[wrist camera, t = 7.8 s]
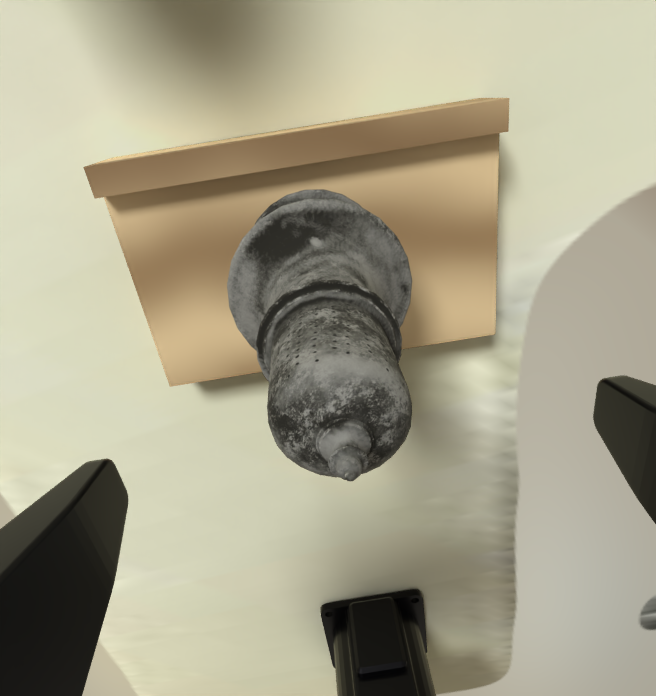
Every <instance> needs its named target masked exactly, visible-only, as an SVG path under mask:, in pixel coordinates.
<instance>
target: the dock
mask: <svg viewBox="0 0 656 696" xmlns="http://www.w3.org/2000/svg"><path fill="white" fill-rule="evenodd" d="M508 124H509V98H478V99H472V100H465V101H459V102H453V103H447V104H441V105H435V106H428V107H422V108H416V109H410V110H404V111H398V112H392V113H385V114H379V115H373V116H367V117H361V118H355V119H348V120H342V121H336V122H330V123H324V124H318V125H312V126H305V127H299V128H293V129H287V130H281V131H275V132H268V133H262V134H256V135H250V136H244V137H238V138H232V139H225V140H219V141H213V142H207V143H201V144H195V145H188V146H182V147H176V148H170V149H164V150H158V151H152V152H145V153H139V154H133V155H127V156H121V157H115V158H110V159H107V160H104V161H101V162H98V163H95V164H92V165H89V166H86V167H84V170H85V173H86V176H87V178H88V181H89V184H90V187H91V190H92V192H93V195H94V198H101V197H104V199H105V202H106V205H107V207H108V210H109V213H110V216H111V219H112V222H113V225H114V228H115V230H116V233H117V236H118V239H119V242H120V245H121V248H122V250H123V253H124V256H125V259H126V262H127V265H128V268H129V271H130V273H131V276H132V279H133V282H134V285H135V288H136V291H137V293H138V296H139V299H140V302H141V305H142V308H143V311H144V314H145V316H146V319H147V322H148V325H149V328H150V331H151V334H152V336H153V339H154V342H155V345H156V348H157V351H158V354H159V357H160V359H161V362H162V365H163V368H164V371H165V374H166V377H167V379H168V382H169V385H170V387H171V386H177V385H183V384H189V383H195V382H202V381H208V380H214V379H220V378H227V377H233V376H239V375H245V374H251V373H258V372H262V370H261V367H260V365H259V362H258V360H257V351H256V350H255V349H254V348H252V347H251V346H250V344H249V343H248V342H247V340H246V339H245V338H244V336H243V335H242V334H241V332H240V331H239V330H238V328H237V326H236V323H235V321H234V318H233V316H232V313H231V311H230V308H229V300H228V291H227V281H228V276H229V270H230V265H231V260H232V258H233V256H234V254H235V252H236V250H237V248H238V246H239V244H240V242H241V240H242V238H243V237H244V236H245V235H246V234H247V233H248V232H249V231H250V230H251V228H252V227H253V226H254V225H255V223H256V221H257V219H258V218H259V217H260V216H261V215H262V213H263V212H264V211H265V210H266V209H267V208H268V207H269V206H270V205H271V204H273V203H274V202H276V201H278V200H279V199H281V198H282V197H284V196H286V195H288V194H292V193H295V192H299V191H302V190H316V189H325V190H328V191H332V192H336V193H340V194H343V195H345V196H346V197H348V198H350V199H351V200H353V201H355V202H356V203H358V204H359V205H360V206H361V207H362V208H364V209H366V210H367V211H369V212H371V213H372V214H374V215H376V216H377V217H379V218H380V219H381V220H382V221H383V222H384V223H385V224H386V225H387V226H388V227H389V228H390V229H391V230H392V231H393V232H394V234H395V235H396V236H397V237H398V239H399V241H400V243H401V245H402V247H403V249H404V251H405V253H406V255H407V257H408V261H409V266H410V271H411V276H412V289H411V301H410V305H409V308H408V311H407V313H406V316H405V319H404V322H403V324H402V325H401V327H400V332H401V336H402V348H401V349H407V348H413V347H419V346H426V345H432V344H438V343H444V342H450V341H457V340H463V339H469V338H475V337H482V336H488V335H494V334H495V323H496V270H497V216H498V163H499V133H502V132H508Z"/></svg>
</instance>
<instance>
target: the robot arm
mask: <svg viewBox="0 0 656 696" xmlns="http://www.w3.org/2000/svg"><path fill="white" fill-rule="evenodd" d="M593 418H594V424H595V427H596V429H597V431H598V433H599V434H600V436H601V438H602V439H603V441H604V443H605V445H606V446H607V448H608V450H609V451H610V453H611V455H612V457H613V458H614V460H615V462H616V463H617V465H618V467H619V469H620V470H621V472H622V474H623V475H624V477H625V479H626V481H627V482H628V484H629V486H630V487H631V489H632V490H633V492H634V494H635V495H636V497H637V498H638V500H639V502H640V503H641V504H642V506H643V507H644V509H645V510H646V511H647V513H648V514H649V516H650V517H651V518H652V520H653V521H654V522H655V524H656V385H653V384H650V383H647V382H644V381H641V380H638V379H634V378H631V377H628V376H615V377H609V378H604V379H602V380H600V382H599V383H598V386H597V392H596V399H595V406H594V414H593ZM127 508H128V494H127V490H126V488H125V486H124V484H123V481H122V479H121V477H120V475H119V473H118V470H117V468H116V466H115V464H114V463H113V461H112V460H110V459H101V460H95V461H89V462H86V463H85V464H83V465H82V466H81V467H79V468H78V469H77V470H76V471H74V472H73V473H72V474H70V475H69V476H68V477H67V478H65V479H64V480H63V481H61V482H60V483H59V484H58V485H56V486H55V487H54V488H52V489H51V490H50V491H49V492H47V493H46V494H45V495H43V496H42V497H41V498H40V499H38V500H37V501H36V502H34V503H33V504H32V505H31V506H29V507H28V508H27V509H25V510H24V511H23V512H22V513H20V514H19V515H18V516H16V517H15V518H14V519H13V520H11V521H10V522H9V523H7V524H6V525H5V526H4V527H2V528H1V529H0V696H82V694H83V690H84V687H85V683H86V680H87V676H88V673H89V669H90V666H91V662H92V659H93V656H94V652H95V649H96V645H97V642H98V638H99V635H100V631H101V628H102V624H103V621H104V617H105V614H106V610H107V607H108V603H109V600H110V596H111V593H112V589H113V585H114V581H115V576H116V571H117V566H118V560H119V554H120V548H121V542H122V537H123V531H124V525H125V519H126V514H127ZM321 618H322V622H323V626H324V630H325V635H326V639H327V643H328V647H329V651H330V655H331V660H332V664H333V667H334V668H335V669H336V682H337V694H338V696H436V694H435V690H434V685H433V681H432V677H431V673H430V669H429V665H428V661H427V657H426V653H427V642H426V630H425V618H424V606H423V597H422V594H421V592H420V591H419V590H408V591H402V592H396V593H389V594H383V595H377V596H371V597H364V598H358V599H352V600H345V601H339V602H333V603H327V604H324V605H322V606H321Z"/></svg>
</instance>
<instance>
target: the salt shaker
mask: <svg viewBox="0 0 656 696" xmlns="http://www.w3.org/2000/svg"><path fill="white" fill-rule="evenodd" d="M411 289H412V276H411V271H410V266H409V261H408V257H407V255H406V253H405V251H404V249H403V247H402V245H401V243H400V241H399V239H398V237H397V236H396V235H395V234H394V232H393V231H392V230H391V229H390V228H389V227H388V226H387V225H386V224H385V223H384V222H383V221H382V220H381V219H380V218H379V217H377V216H376V215H374V214H372V213H371V212H369V211H367V210H366V209H364V208H362V207H361V206H360V205H359V204H358V203H356V202H355V201H353V200H351V199H350V198H348V197H346V196H345V195H343V194H340V193H336V192H332V191H328V190H325V189H316V190H302V191H299V192H295V193H292V194H288V195H286V196H284V197H282V198H281V199H279V200H278V201H276V202H274V203H273V204H271V205H270V206H269V207H268V208H267V209H266V210H265V211H264V212H263V213H262V215H261V216H260V217H259V218H258V219H257V221H256V223H255V225H254V226H253V227H252V228H251V230H250V231H249V232H248V233H247V234H246V235H245V236H244V237H243V238H242V240H241V242H240V244H239V246H238V248H237V250H236V252H235V254H234V256H233V258H232V260H231V265H230V270H229V276H228V281H227V291H228V300H229V308H230V311H231V313H232V316H233V318H234V321H235V323H236V326H237V328H238V330H239V331H240V332H241V334H242V335H243V336H244V338H245V339H246V340H247V342H248V343H249V344H250V346H251V347H252V348H254V349H255V350H256V351H257V360H258V362H259V365H260V367H261V370H262V372H263V375H264V376H265V378H266V379H267V380H268V381H269V391H268V405H267V410H268V423H269V426H270V429H271V432H272V435H273V437H274V439H275V442H276V444H277V446H278V447H279V448H280V449H281V451H282V452H283V453H284V454H285V455H286V457H287V458H289V459H290V460H292V461H293V462H295V463H296V464H297V465H299V466H300V467H302V468H304V469H306V470H309V471H312V472H314V473H317V474H319V475H325V476H331V477H341V478H342V479H344V480H347V481H354V480H355V479H356V478H357V477H359V476H360V475H361V474H363V473H367V472H369V471H371V470H373V469H375V468H377V467H379V466H381V465H382V464H383V463H384V462H386V461H387V460H388V459H390V458H391V457H392V456H393V455H394V454H395V453H396V451H397V450H398V449H399V448H400V446H401V445H402V444H403V442H404V441H405V439H406V437H407V434H408V432H409V429H410V427H411V416H412V402H411V398H410V394H409V390H408V387H407V384H406V382H405V379H404V377H403V375H402V372H401V370H400V367H399V365H398V362H399V360H400V357H401V348H402V336H401V332H400V327H401V325H402V324H403V322H404V319H405V316H406V313H407V311H408V308H409V305H410V301H411Z"/></svg>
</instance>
